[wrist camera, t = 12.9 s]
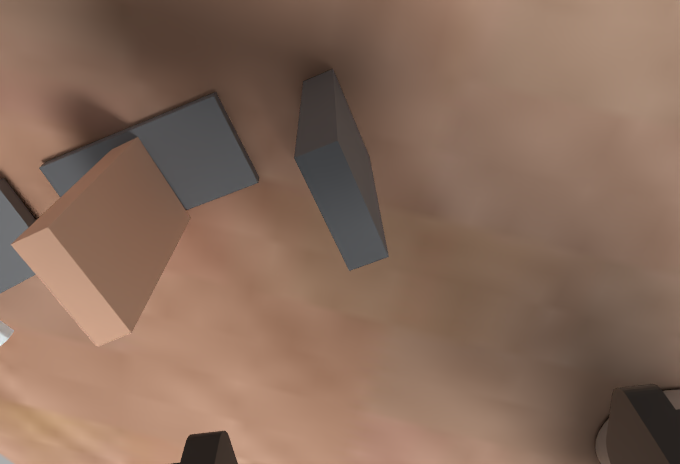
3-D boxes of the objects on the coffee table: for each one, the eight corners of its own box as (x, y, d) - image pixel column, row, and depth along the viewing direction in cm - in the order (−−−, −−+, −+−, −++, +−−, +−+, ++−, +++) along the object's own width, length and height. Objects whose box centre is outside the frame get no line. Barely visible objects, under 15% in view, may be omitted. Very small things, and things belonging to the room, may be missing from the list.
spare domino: (190, 217, 30) (131, 332, 21) (165, 229, 31) (96, 346, 22) (137, 136, 28) (47, 227, 19) (111, 149, 28) (10, 244, 20)
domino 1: (369, 156, 30) (388, 256, 21) (341, 167, 30) (349, 270, 21) (332, 68, 27) (337, 140, 19) (303, 81, 28) (294, 158, 19)
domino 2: (258, 182, 30) (94, 244, 31) (260, 170, 31) (104, 230, 33) (213, 95, 27) (39, 167, 29) (218, 87, 29) (52, 156, 30)
